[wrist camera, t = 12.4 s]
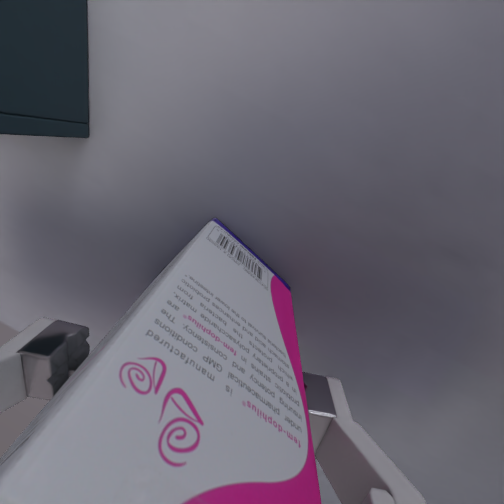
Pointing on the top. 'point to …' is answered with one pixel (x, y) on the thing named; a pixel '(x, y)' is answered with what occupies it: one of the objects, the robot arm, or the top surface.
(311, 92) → the top surface
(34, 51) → the case
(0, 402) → the robot arm
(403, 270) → the top surface
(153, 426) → the supplement box
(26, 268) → the top surface
